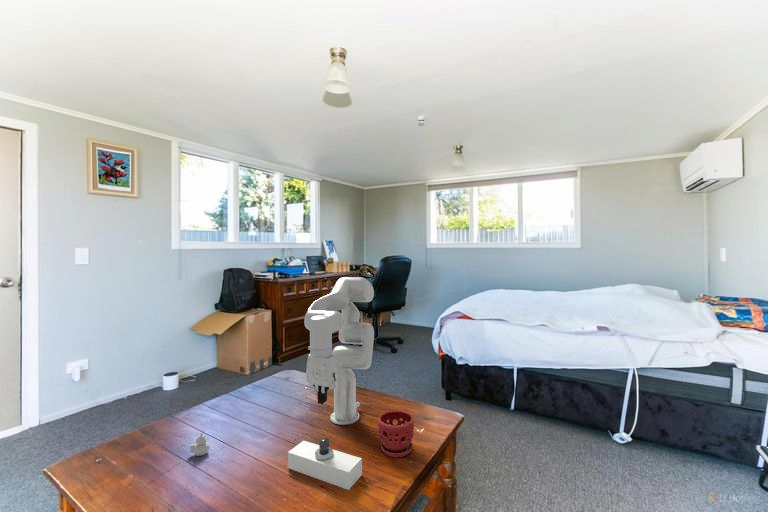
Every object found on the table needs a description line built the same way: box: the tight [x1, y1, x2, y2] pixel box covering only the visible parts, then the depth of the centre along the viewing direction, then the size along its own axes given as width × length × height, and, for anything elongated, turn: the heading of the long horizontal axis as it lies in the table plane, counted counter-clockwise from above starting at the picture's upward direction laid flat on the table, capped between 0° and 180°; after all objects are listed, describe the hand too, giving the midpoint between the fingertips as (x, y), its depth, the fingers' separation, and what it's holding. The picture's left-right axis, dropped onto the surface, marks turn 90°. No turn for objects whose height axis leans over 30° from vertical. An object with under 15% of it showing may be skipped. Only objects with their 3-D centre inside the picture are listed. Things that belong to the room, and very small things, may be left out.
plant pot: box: [377, 410, 415, 458], centre depth 126 cm, size 13×13×12 cm
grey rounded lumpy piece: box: [188, 432, 211, 457], centre depth 124 cm, size 5×7×8 cm
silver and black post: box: [315, 437, 334, 461], centre depth 114 cm, size 6×6×10 cm
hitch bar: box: [287, 440, 363, 491], centre depth 114 cm, size 8×24×5 cm, turn 63°
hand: (322, 402), depth 121 cm, fingers closed
